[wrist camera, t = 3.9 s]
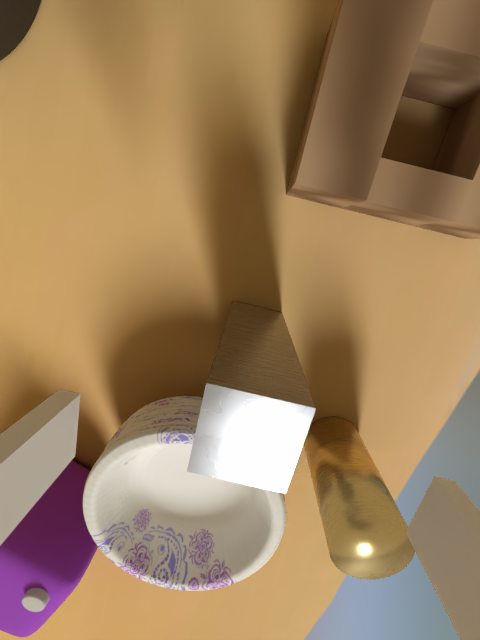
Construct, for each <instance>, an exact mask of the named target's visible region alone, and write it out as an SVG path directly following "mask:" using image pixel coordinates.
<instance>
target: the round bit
mask: <svg viewBox="0 0 480 640" xmlns="http://www.w3.org/2000/svg"><path fill="white" fill-rule="evenodd" d="M304 447H305V451H306V455H307V460H308V464H309V468H310V472H311V477H312V481H313V485H314V489H315V494H316V498H317V502H318V506H319V511H320V515H321V519H322V523H323V528H324V532H325V536H326V540H327V544H328V549H329V553H330V557H331V560H332V562H333V563H334V565H335V566H336V567H337V568H338V569H339V570H341V571H342V572H343V573H345V574H347V575H350V576H352V577H355V578H360V579H380V578H385V577H389V576H391V575H394V574H396V573H398V572H399V571H401V570H402V569H404V568H405V567H406V566H407V565H408V564H409V563H410V561H411V560H412V558H413V556H414V553H415V550H414V548H413V546H412V544H411V542H410V540H409V538H408V536H407V534H406V530H407V528H408V527H407V525H406V523H405V521H404V519H403V517H402V515H401V513H400V511H399V509H398V508H397V506H396V504H395V502H394V500H393V498H392V496H391V494H390V492H389V490H388V488H387V487H386V485H385V483H384V481H383V479H382V477H381V475H380V473H379V471H378V469H377V468H376V466H375V464H374V462H373V460H372V458H371V456H370V454H369V452H368V450H367V449H366V447H365V445H364V443H363V441H362V439H361V437H360V435H359V433H358V431H357V430H356V428H355V426H354V425H353V424H352V423H350V422H349V421H347V420H346V419H343V418H340V417H325V418H322V419H319V420H317V421H315V422H314V423H312V424H311V425H310V427H309V430H308V433H307V435H306V438H305V441H304Z"/></svg>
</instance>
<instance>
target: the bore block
mask: <svg viewBox="0 0 480 640" xmlns="http://www.w3.org/2000/svg"><path fill="white" fill-rule="evenodd" d="M401 96H406V97H410V98H414V99H418V100H422V101H426V102H430V103H434V104H438V105H442V106H446V107H450V108H453V109H455V111H454V114H453V116H452V119H451V122H450V124H449V127H448V129H447V132H446V135H445V137H444V140H443V142H442V145H441V148H440V150H439V153H438V155H437V158H436V160H435V163H434V166H433V168H432V170H430V169H426V168H422V167H417V166H413V165H409V164H405V163H401V162H397V161H393V160H389V159H385V158H381V156H382V153H383V150H384V147H385V144H386V141H387V138H388V135H389V132H390V129H391V126H392V123H393V120H394V117H395V114H396V111H397V108H398V105H399V102H400V99H401ZM286 195H290V196H294V197H298V198H302V199H306V200H310V201H314V202H318V203H322V204H326V205H330V206H335V207H339V208H343V209H347V210H351V211H355V212H359V213H363V214H367V215H371V216H375V217H380V218H384V219H388V220H392V221H396V222H400V223H404V224H408V225H412V226H416V227H420V228H424V229H429V230H433V231H437V232H441V233H445V234H449V235H453V236H457V237H461V238H470V239H480V0H340V1H339V3H338V6H337V9H336V12H335V14H334V17H333V20H332V23H331V26H330V28H329V31H328V34H327V38H326V42H325V46H324V50H323V54H322V58H321V62H320V66H319V69H318V73H317V77H316V81H315V85H314V89H313V93H312V97H311V101H310V104H309V108H308V112H307V116H306V120H305V124H304V128H303V132H302V136H301V140H300V143H299V147H298V151H297V155H296V159H295V163H294V167H293V171H292V175H291V178H290V182H289V186H288V190H287V194H286Z"/></svg>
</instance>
